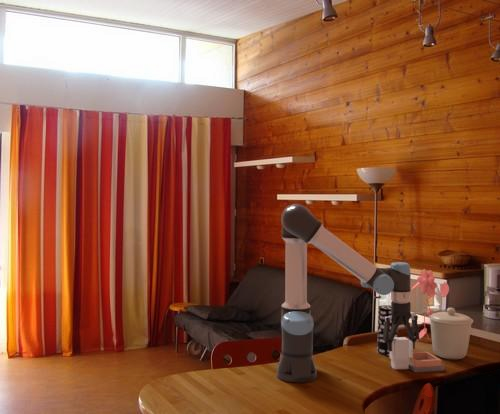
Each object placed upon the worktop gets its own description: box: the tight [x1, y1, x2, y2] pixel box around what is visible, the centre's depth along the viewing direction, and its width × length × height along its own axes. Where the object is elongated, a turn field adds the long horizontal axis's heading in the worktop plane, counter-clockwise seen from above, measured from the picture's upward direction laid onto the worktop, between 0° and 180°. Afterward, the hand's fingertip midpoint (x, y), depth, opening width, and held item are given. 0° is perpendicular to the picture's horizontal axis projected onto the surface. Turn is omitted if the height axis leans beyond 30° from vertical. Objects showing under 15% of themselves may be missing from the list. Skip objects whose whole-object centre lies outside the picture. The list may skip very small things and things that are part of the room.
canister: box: [428, 307, 474, 360], centre depth 245 cm, size 18×18×21 cm
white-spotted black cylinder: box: [376, 304, 399, 357], centre depth 248 cm, size 8×8×20 cm
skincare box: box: [390, 336, 410, 370], centre depth 228 cm, size 6×4×12 cm
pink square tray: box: [408, 351, 445, 373], centre depth 231 cm, size 13×13×4 cm
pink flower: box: [410, 268, 450, 352], centre depth 262 cm, size 15×26×35 cm, turn 22°
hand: (401, 357), depth 228 cm, fingers open, 7 cm apart
